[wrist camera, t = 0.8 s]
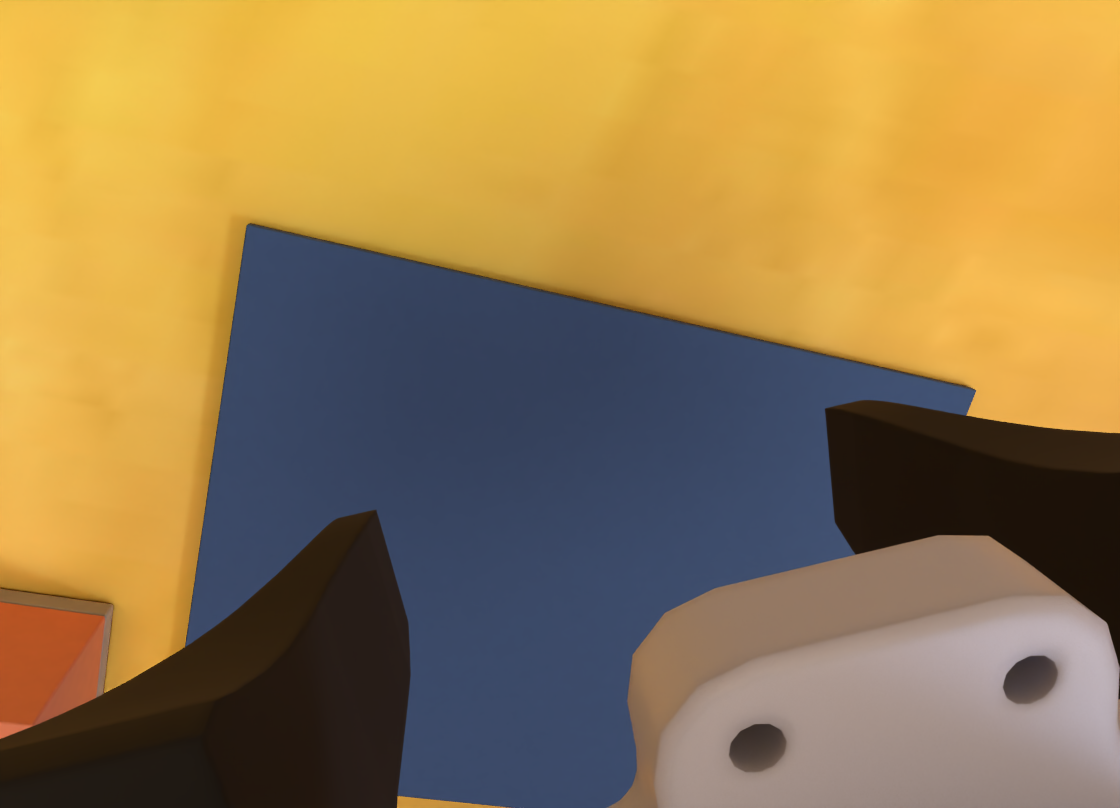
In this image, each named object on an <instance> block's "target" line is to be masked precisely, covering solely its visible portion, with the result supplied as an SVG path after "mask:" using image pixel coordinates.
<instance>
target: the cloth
mask: <svg viewBox="0 0 1120 808" xmlns="http://www.w3.org/2000/svg"><path fill="white" fill-rule="evenodd" d="M975 392H976V390H974V389H973V388H971V387H966V386H962V385H958V384H953V383H949V382H945V381H940V380H936V379H931V378H927V377H923V376H918V375H914V374H909V373H905V372H901V371H896V370H892V369H887V368H883V367H879V366H874V365H870V364H865V363H861V362H857V361H852V360H848V359H844V358H839V357H835V356H830V355H826V354H822V353H817V352H813V351H808V350H804V349H800V348H795V347H791V346H786V345H782V344H778V343H773V342H769V341H764V340H760V339H756V338H751V337H747V336H742V335H738V334H734V333H729V332H725V331H721V330H716V329H712V328H707V327H703V326H699V325H694V324H690V323H685V322H681V321H677V320H672V319H668V318H663V317H659V316H655V315H650V314H646V313H641V312H637V311H633V310H628V309H624V308H620V307H615V306H611V305H606V304H602V303H598V302H593V301H589V300H584V299H580V298H576V297H571V296H567V295H562V294H558V293H554V292H549V291H545V290H540V289H536V288H532V287H527V286H523V285H519V284H514V283H510V282H505V281H501V280H497V279H492V278H488V277H483V276H479V275H475V274H470V273H466V272H461V271H457V270H453V269H448V268H444V267H439V266H435V265H431V264H426V263H422V262H417V261H413V260H409V259H404V258H400V257H396V256H391V255H387V254H382V253H378V252H374V251H369V250H365V249H360V248H356V247H352V246H347V245H343V244H338V243H334V242H330V241H325V240H321V239H316V238H312V237H308V236H303V235H299V234H295V233H290V232H286V231H281V230H277V229H273V228H268V227H264V226H259V225H255V224H251V223H250V224H248V225H247V227H246V233H245V240H244V247H243V254H242V261H241V268H240V275H239V281H238V288H237V295H236V302H235V309H234V316H233V322H232V329H231V336H230V343H229V350H228V357H227V364H226V370H225V377H224V384H223V391H222V398H221V405H220V411H219V418H218V425H217V432H216V439H215V446H214V453H213V459H212V466H211V473H210V480H209V487H208V494H207V500H206V507H205V514H204V521H203V528H202V535H201V542H200V548H199V555H198V562H197V569H196V576H195V583H194V589H193V596H192V603H191V610H190V617H189V624H188V631H187V637H186V644H185V647H186V646H188V645H189V644H191V643H192V642H194V641H195V640H196V639H198V638H199V637H201V636H202V635H204V634H205V633H206V632H208V631H209V630H211V629H212V628H213V627H215V626H216V625H218V624H219V623H220V622H221V621H223V620H224V619H225V618H227V617H228V616H229V615H231V614H232V613H233V612H234V611H236V610H237V609H238V608H239V607H240V606H242V605H243V604H244V603H245V602H246V601H247V600H248V599H250V598H251V597H252V596H253V595H254V594H255V593H256V592H257V591H259V590H260V589H261V588H262V587H263V586H264V585H265V584H267V583H268V582H269V581H270V580H271V579H272V578H273V577H275V576H276V575H277V574H278V573H279V572H280V571H281V570H282V569H283V568H284V567H285V566H286V565H287V564H288V563H289V562H290V561H291V560H292V559H293V558H294V557H295V556H296V555H297V554H298V553H299V552H300V551H301V550H303V549H304V548H305V547H306V546H307V545H308V544H309V543H310V542H311V541H312V540H313V539H314V538H315V537H316V536H317V535H318V534H319V533H320V532H321V531H322V530H323V529H324V528H325V527H326V526H327V525H329V524H330V523H331V522H332V521H334V520H335V519H337V518H340V517H345V516H349V515H354V514H358V513H363V512H367V511H372V510H377V514H378V517H379V521H380V524H381V528H382V531H383V535H384V538H385V542H386V545H387V549H388V552H389V556H390V559H391V563H392V566H393V570H394V573H395V577H396V580H397V584H398V587H399V591H400V594H401V598H402V601H403V605H404V608H405V612H406V615H407V619H408V622H409V642H410V669H411V677H410V688H409V698H408V707H407V717H406V726H405V734H404V743H403V752H402V761H401V770H400V779H399V788H398V796H405V797H414V798H424V799H434V800H443V801H453V802H463V803H472V804H482V805H492V806H501V807H511V808H607V807H609V806H611V805H613V804H614V803H616V802H618V801H620V800H621V799H622V798H623V797H624V795H625V794H626V793H627V792H628V791H629V789H630V788H631V787H632V785H633V782H634V779H635V775H636V771H637V756H636V744H635V739H634V734H633V729H632V724H631V718H630V713H629V708H628V703H627V698H628V690H629V682H630V673H631V665H632V656H633V654H634V652H635V651H636V650H637V648H638V647H639V646H640V645H641V643H642V642H643V641H644V639H645V638H646V637H647V635H648V634H649V633H650V631H651V630H652V629H653V628H654V626H655V625H656V624H657V622H658V621H659V620H660V618H661V617H662V616H663V615H664V613H666V612H668V611H670V610H672V609H674V608H676V607H678V606H680V605H682V604H684V603H686V602H688V601H690V600H692V599H694V598H696V597H698V596H700V595H702V594H704V593H706V592H708V591H710V590H712V589H714V588H718V587H722V586H726V585H731V584H735V583H739V582H743V581H747V580H752V579H756V578H760V577H764V576H769V575H773V574H777V573H781V572H785V571H790V570H794V569H798V568H802V567H806V566H811V565H815V564H819V563H823V562H828V561H832V560H836V559H840V558H844V557H849V556H853V555H856V554H855V553H854V552H853V550H852V549H851V547H850V546H849V544H848V542H847V541H846V539H845V538H844V536H843V535H842V533H841V531H840V530H839V528H838V527H837V525H836V524H835V520H834V508H833V497H832V485H831V473H830V462H829V450H828V439H827V427H826V416H825V408H829V407H833V406H838V405H842V404H846V403H851V402H855V401H860V400H878V401H887V402H894V403H900V404H906V405H912V406H917V407H923V408H928V409H933V410H939V411H944V412H949V413H954V414H960V415H965V416H966V415H967V412H968V410H969V407H970V405H971V402H972V400H973V397H974V395H975Z"/></svg>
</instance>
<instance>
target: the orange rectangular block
mask: <svg viewBox="0 0 1120 808" xmlns="http://www.w3.org/2000/svg"><path fill="white" fill-rule="evenodd" d="M112 613H113V605H112V604H107V603H100V602H93V601H85V600H78V599H71V598H64V597H57V596H49V595H42V594H35V593H28V592H21V591H13V590H6V589H0V739H1V738H4V737H6V736H9V735H11V734H14V733H17V732H19V731H22V730H24V729H27V728H29V727H32V726H35V725H37V724H40V723H42V722H44V721H46V720H49V719H51V718H53V717H56V716H58V715H60V714H62V713H65V712H67V711H69V710H71V709H73V708H75V707H78V706H80V705H82V704H84V703H86V702H88V701H90V700H93V699H95V698H97V697H98V696H100V695H102V694H103V690H104V681H105V673H106V664H107V656H108V647H109V639H110V630H111V622H112Z"/></svg>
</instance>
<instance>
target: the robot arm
mask: <svg viewBox="0 0 1120 808" xmlns="http://www.w3.org/2000/svg"><path fill="white" fill-rule="evenodd" d="M825 416H826V427H827V439H828V450H829V462H830V473H831V485H832V497H833V508H834V520H835V524H836V525H837V527H838V528H839V530H840V531H841V533H842V535H843V536H844V538H845V539H846V541H847V542H848V544H849V546H850V547H851V549H852V550H853V552H854V553H855V554H856V555H853V556H849V557H844V558H840V559H836V560H832V561H828V562H823V563H819V564H815V565H811V566H806V567H802V568H798V569H794V570H790V571H785V572H781V573H777V574H773V575H769V576H764V577H760V578H756V579H752V580H747V581H743V582H739V583H735V584H731V585H726V586H722V587H718V588H714V589H712V590H710V591H708V592H706V593H704V594H702V595H700V596H698V597H696V598H694V599H692V600H690V601H688V602H686V603H684V604H682V605H680V606H678V607H676V608H674V609H672V610H670V611H668V612H666V613H664V615H663V616H662V617H661V618H660V620H659V621H658V622H657V624H656V625H655V626H654V628H653V629H652V630H651V631H650V633H649V634H648V635H647V637H646V638H645V639H644V641H643V642H642V643H641V645H640V646H639V647H638V648H637V650H636V651H635V652H634V654H633V656H632V665H631V673H630V682H629V690H628V698H627V703H628V708H629V713H630V718H631V724H632V729H633V734H634V739H635V744H636V756H637V771H636V775H635V779H634V782H633V785H632V787H631V788H630V789H629V791H628V792H627V793H626V794H625V795H624V797H623V798H622V799H621V800H620V801H618V802H616V803H614V804H613V805H611V806H609V807H607V808H1120V433H1103V432H1089V431H1075V430H1062V429H1052V428H1043V427H1035V426H1028V425H1021V424H1014V423H1007V422H1000V421H994V420H988V419H982V418H976V417H971V416H965V415H960V414H954V413H949V412H944V411H939V410H933V409H928V408H923V407H917V406H912V405H906V404H900V403H894V402H887V401H878V400H860V401H855V402H851V403H846V404H842V405H838V406H833V407H829V408H825ZM410 677H411V669H410V642H409V622H408V619H407V615H406V612H405V608H404V605H403V601H402V598H401V594H400V591H399V587H398V584H397V580H396V577H395V573H394V570H393V566H392V563H391V559H390V556H389V552H388V549H387V545H386V542H385V538H384V535H383V531H382V528H381V524H380V521H379V517H378V514H377V510H372V511H367V512H363V513H358V514H354V515H349V516H345V517H340V518H337V519H335V520H334V521H332V522H331V523H330V524H329V525H327V526H326V527H325V528H324V529H323V530H322V531H321V532H320V533H319V534H318V535H317V536H316V537H315V538H314V539H313V540H312V541H311V542H310V543H309V544H308V545H307V546H306V547H305V548H304V549H303V550H301V551H300V552H299V553H298V554H297V555H296V556H295V557H294V558H293V559H292V560H291V561H290V562H289V563H288V564H287V565H286V566H285V567H284V568H283V569H282V570H281V571H280V572H279V573H278V574H277V575H276V576H275V577H273V578H272V579H271V580H270V581H269V582H268V583H267V584H265V585H264V586H263V587H262V588H261V589H260V590H259V591H257V592H256V593H255V594H254V595H253V596H252V597H251V598H250V599H248V600H247V601H246V602H245V603H244V604H243V605H242V606H240V607H239V608H238V609H237V610H236V611H234V612H233V613H232V614H231V615H229V616H228V617H227V618H225V619H224V620H223V621H221V622H220V623H219V624H218V625H216V626H215V627H213V628H212V629H211V630H209V631H208V632H206V633H205V634H204V635H202V636H201V637H199V638H198V639H196V640H195V641H194V642H192V643H191V644H189V645H188V646H186V647H185V648H183V649H182V650H180V651H178V652H177V653H175V654H173V655H172V656H170V657H168V658H167V659H165V660H163V661H162V662H160V663H158V664H157V665H155V666H153V667H151V668H150V669H148V670H146V671H145V672H143V673H141V674H140V675H138V676H136V677H135V678H133V679H131V680H129V681H128V682H126V683H124V684H122V685H120V686H118V687H116V688H114V689H112V690H110V691H108V692H106V693H104V694H102V695H100V696H98V697H97V698H95V699H93V700H90V701H88V702H86V703H84V704H82V705H80V706H78V707H75V708H73V709H71V710H69V711H67V712H65V713H62V714H60V715H58V716H56V717H53V718H51V719H49V720H46V721H44V722H42V723H40V724H37V725H35V726H32V727H29V728H27V729H24V730H22V731H19V732H17V733H14V734H11V735H9V736H6V737H4V738H1V739H0V808H397V796H398V788H399V779H400V770H401V761H402V752H403V743H404V734H405V726H406V717H407V707H408V698H409V688H410Z"/></svg>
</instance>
